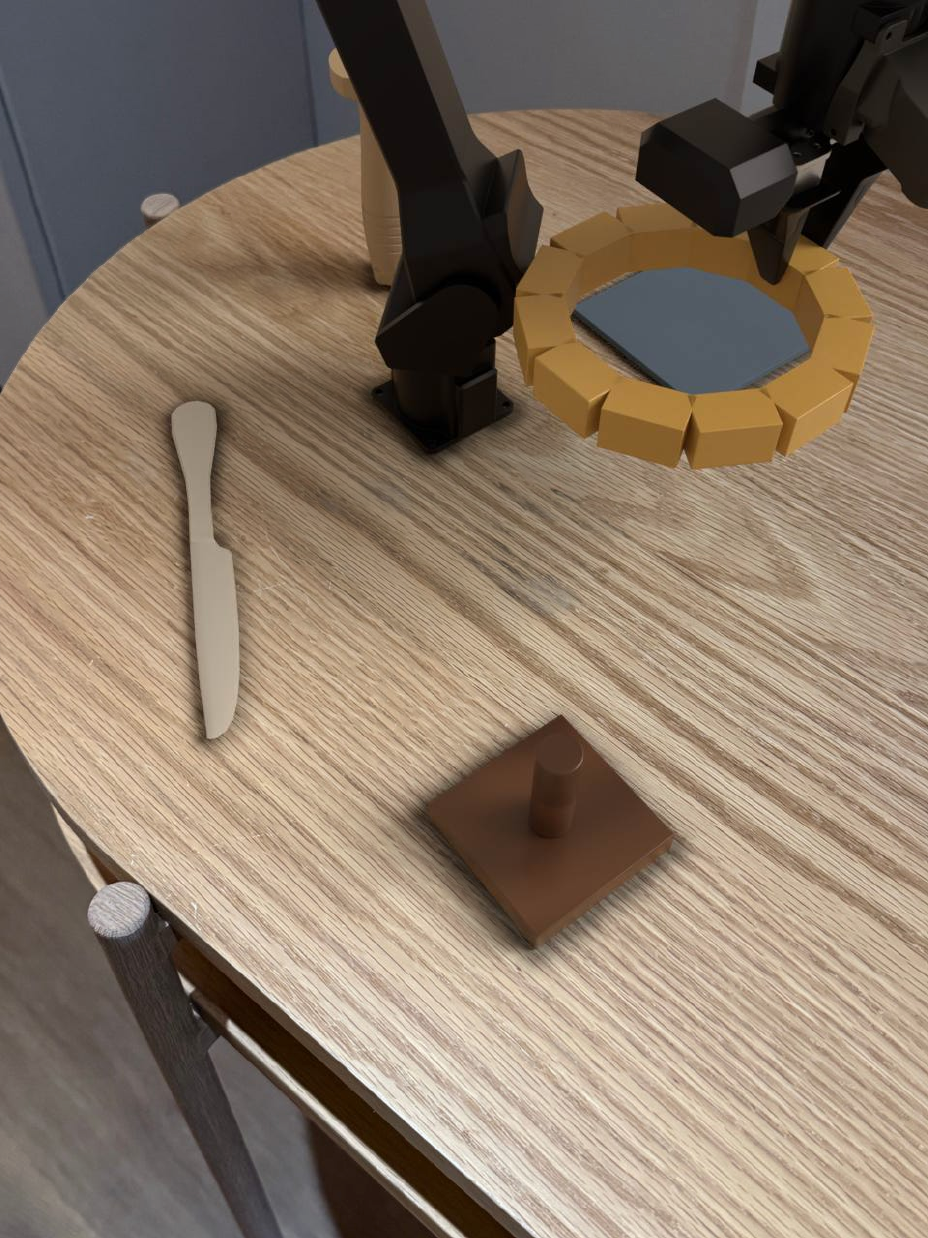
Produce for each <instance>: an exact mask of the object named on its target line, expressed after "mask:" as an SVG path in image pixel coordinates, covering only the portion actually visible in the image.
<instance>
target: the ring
mask: <svg viewBox="0 0 928 1238" xmlns="http://www.w3.org/2000/svg"><path fill="white" fill-rule="evenodd" d="M839 262H840V258H839V257H838V256H837V255H836V254H833V253H832V252H830V251H828V249H827V250H825V249H824V248H822V247H820V246H819V245H817V244H816V243H814V242H812V241H811V240H809V239H808V238H806V237H805V236H803V235H802V234H800V236H799V239H798V241H797V244H796V246H795V249H794V252H793V254H792V257H791V260H790V262H789V264H788V267H787V269H786V271H785V273H784V275H783V277H782V279H781V281H780V283H778V284H776V285H771V284H769V283H768V282H767V281H765V280H764V279H763V278H761V276H760V275H759V272H758V268H757V265H756V261H755V258H754V254H753V251H752V247H751V244H750V240H749V237H748V233H747V231H745V232H743V233H741V234H739V235H737V236H735V237H733V238H728V237H717V236H713V235H711V234H710V233H708V232H707V231H705V230H704V229H703V228H701V227H700V226H698V225H697V224H696V223H694V222H693V221H691V220H690V219H689V218H687V217H686V216H684V215H683V214H682V213H680V212H679V211H677V210H676V209H675V208H673V207H672V206H670V205H669V204H668V203H666V202H665V203H664V202H663V203H653V204H640V205H629V206H628V205H627V206H618V207H617V208H616V214H615V216H614V215H612V214H611V213H609V212H608V211H606V210H603V211H601V212H599V213H597V214H595V215H593V216H591V217H589V218H587V219H585V220H583V221H580V222H578V223H577V224H575V225H573V226H571V227H568V228H567V229H565V230H563V231H561V232H558V233H556V234H555V235H553V236H551V237H550V238H549V245H546V244H541V245H540V247H539V249H538V251H536V253H535V257H534V259H533V261H532V263H531V264H530V266H529V268H528V269H527V271H526V273H525V274H524V276H523V278H522V279H521V281H520V283H519V284H518V286H517V288H516V297H515V298H514V323H513V327H512V337H513V341H514V345H515V350H516V353H517V357H518V362H519V365H520V369H521V373H522V379H523V381H524V386H525V387H532V397H533V398H534V399H535V400H537V401H538V402H539V403H540V404H541V405H543V407H545V408H546V409H547V410H548V411H550V412H551V413H552V414H553V415H554V416H555V417H557V418H558V419H559V420H560V421H561V422H562V423H564V424H565V425H566V426H568V428H570V429H571V430H572V431H573V432H575V433H576V434H577V435H578V436H579V437H580V438H581V439H582V440H586V439H587V438H590V437H591V436H593V435H594V434H596V433H597V440H596V447H597V448H600V449H604V450H606V451H607V450H608V451H611V452H614V453H617V454H621V455H626V456H629V457H633V458H636V459H640V460H643V461H647V462H650V463H654V464H658V465H661V466H665V467H668V468H672V469H677V467H678V465H679V462H680V460H681V457H682V455H683V452H684V454H685V456H686V458H687V462H688V466H689V468H690V470H692V471H694V470H705V469H714V468H715V469H716V468H724V467H731V466H732V467H733V466H742V465H751V464H752V465H753V464H763V463H770V462H772V461H773V458H774V454H775V451H776V452H777V453H778V454H780V455H781V456H782V457H783V458H786V457H788V456H790V455H791V454H793V453H794V452H795V451H797V450H799V449H800V448H801V447H803V446H804V445H806V444H808V443H810V442H811V441H813V440H814V439H816V438H817V437H818V436H820V435H822V434H823V433H825V432H826V431H828V430H829V429H831V428H833V427H834V426H836V425H838V424H839V423H840V422H841V420H842V417H843V414H847V413H848V412H849V409H850V406H851V403H852V400H853V397H854V395H855V392H856V390H857V387H858V384H859V381H860V377H861V375H862V372H863V369H864V365H865V362H866V359H867V356H868V353H869V348H870V346H871V342H872V338H873V335H874V331H875V328H876V325H875V324H873V323H872V321H873V319H874V313H873V312H872V309H871V308H870V306H869V304H868V302H867V300H866V299H865V297H864V295H863V293H862V291H861V289H860V287H859V285H858V284H857V282H856V280H855V278H854V277H853V274H852V273H851V271H850V269H849V267H847V266H844V267H838V266H839ZM681 267H689V268H693V269H697V270H702V271H706V272H710V273H714V274H718V275H722V276H727V277H731V278H735V279H739V280H743V281H746V282H748V283H749V284H751V285H752V286H754V287H755V288H756V289H758V290H759V291H761V292H762V293H764V294H765V295H767V296H768V297H770V298H771V299H773V300H774V301H776V302H777V303H778V304H780V305H781V306H783V307H784V308H786V309H787V310H789V311H790V312H792V313H793V315H794V317H795V319H796V321H797V323H798V325H799V327H800V329H801V331H802V334H803V336H804V338H805V340H806V342H807V344H808V346H809V348H810V350H809V351H810V352H811V353H810V356H809V358H808V359H806V360H805V361H803V362H801V363H800V364H798V365H797V366H795V367H794V368H791V369H790V370H788V371H786V372H785V373H783V374H781V375H780V376H778V377H777V378H775V379H773V380H772V381H771V382H769V383H767V384H765V385H764V386H762V387H758V388H757V387H756V388H748V389H741V390H737V391H727V392H716V393H706V394H696V395H691V394H687V393H683V392H680V391H676V390H672V389H668V388H665V387H663V386H662V385H656V384H653V383H649V382H646V381H642V380H638V379H634V378H630V377H626V376H623V375H622V374H620V373H619V372H617V371H616V370H615V369H614V368H612V366H610V365H609V364H608V363H607V362H605V361H604V360H602V359H601V358H600V357H599V356H597V355H596V354H595V353H594V352H592V351H591V350H590V349H588V348H587V347H586V346H585V345H583V344H582V343H581V342H579V341H578V339H577V336H576V333H575V329H574V326H573V322H572V318H571V316H572V315H573V314H572V312H573V311H574V309H575V307H576V305H577V304H579V301H580V299H581V297H583V296H584V295H587V294H588V293H590V292H592V291H594V290H596V289H599V288H600V287H602V286H604V285H606V284H607V283H610V282H612V281H613V280H616V279H617V278H620V277H621V276H623V275H625V274H627V273H635V272H642V271H648V270H659V269H670V268H681Z"/></svg>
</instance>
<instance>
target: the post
mask: <svg viewBox="0 0 928 1238" xmlns="http://www.w3.org/2000/svg"><path fill="white" fill-rule="evenodd" d="M427 805H428V818H429V820H430V822H432V823H433V824H434V826H435V827H436V828H437V830H438V831H439V832H440V833H441V834H442V835H443V837H444V838H445V839H446V841H447V842H448V843H449V844H450V846H451V847H452V848H453V849H454V850H455V852H456V853H457V854H458V855H459V856H460V858H461V860H463V862H464V863H465V864H466V865H467V867H468V868H469V869H470V870H471V871H472V873H473V874H474V875H475V876H476V878H477V879H478V880H479V881H480V883H481V884H482V885H483V886H484V888H485V889H486V890H487V891H488V892H489V894H490V895H491V896H492V897H493V899H494V900H495V901H496V903H497V904H498V906H500V908H501V909H502V910H503V911H504V913H506V915H507V916H508V918H509V919H510V920H511V921H512V922H513V924H514V925H515V926H516V927H517V929H518V930H519V931H520V932H521V934H522V935H523V936H524V937H525V938H526V939H527V941H528V942H529V943H530V944H531V946H532V947H533V948H534V949H535V950H538V949H539V948H541V947H542V946H543V945H545V944H546V943H547V942H548V941H550V940H551V939H553V938H555V936H556V935H557V934H559V933H561V932H562V931H563V930H565V929H566V928H567V927H568V926H570V925H571V924H572V923H574V922H575V921H576V920H578V918H581V917H582V916H583V915H584V914H586V913H587V912H589V910H591V909H592V908H594V907H595V906H596V905H598V904H599V903H600V902H602V901H603V900H604V899H606V898H607V897H608V896H610V895H611V894H612V893H614V891H616V890H618V889H619V888H620V887H621V886H623V885H625V883H627V882H628V881H629V880H631V879H632V878H633V877H634V876H636V875H638V874H639V873H640V872H641V871H642V870H644V869H645V868H647V867H648V866H650V865H651V864H653V862H654V861H656V860H657V859H658V858H660V857H661V856H662V855H664V854H665V853H666V852H668V851H669V850H670V849H671V846H672V843H673V841H674V837H675V833H674V832H673V831H672V830H671V829H670V828H669V827H668V826H667V824H665V823H664V821H663V820H662V819H661V818H659V816H658V815H657V814H656V813H655V812H654V811H653V810H652V809H651V807H649V806H648V804H647V803H646V802H645V801H644V800H643V799H642V798H641V797H640V796H639V795H638V793H636V792H635V790H634V789H633V788H631V786H630V785H629V784H628V783H627V782H626V781H625V780H624V778H622V776H620V774H619V773H617V771H616V770H615V769H614V768H613V767H612V766H611V764H609V763H608V762H607V760H605V759H604V757H602V756H601V754H600V753H599V752H598V751H597V749H595V747H593V746H592V745H591V744H590V743H589V742H588V741H587V740H586V738H585V737H584V736H583V735H582V734H581V733H580V732H579V731H578V730H577V729H576V728H575V726H574V725H573V724H571V722H570V721H569V720H568V719H567V718H566V717H565V716H564V715H563V714H559V715H558V716H556V717H555V718H553V719H552V720H550V721H548V722H547V723H546V724H544V725H543V726H541V727H539V728H538V729H537V730H534V732H532V733H530V734H529V735H528V736H526V737H525V738H523V739H522V740H520V741H519V742H517V743H515V744H514V745H513V746H511V747H510V748H508V749H507V750H505V751H504V752H502V753H501V754H499V755H498V756H496V757H495V758H492V760H491V761H489V762H488V763H485V764H484V765H483V766H481V767H479V768H478V769H477V770H475V771H474V772H471V774H470V775H468V776H466V777H465V778H463V779H462V780H460V781H459V782H457V783H456V784H455V785H453V786H451V787H450V788H449V789H447V790H445V791H444V792H442V793H441V794H439V795H438V796H436V797H435V798H433V799H432V800H431V801H429V802H428V804H427Z"/></svg>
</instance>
